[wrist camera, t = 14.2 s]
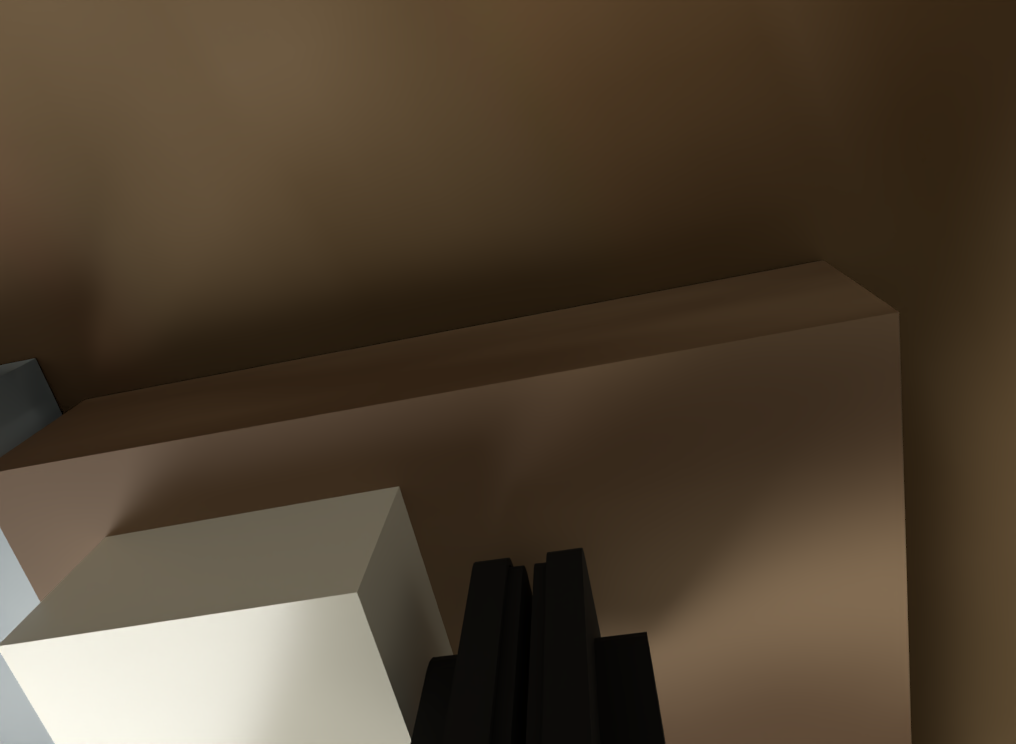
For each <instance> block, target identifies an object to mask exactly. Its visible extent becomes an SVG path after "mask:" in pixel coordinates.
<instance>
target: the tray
mask: <svg viewBox="0 0 1016 744" xmlns="http://www.w3.org/2000/svg"><path fill="white" fill-rule="evenodd" d="M60 416H62V413H61V411H60V409H59V407H58V404H57V402H56V400H55V398H54V396H53V394H52V392H51V390H50V388H49V385H48V383H47V381H46V379H45V377H44V375H43V373H42V371H41V369H40V366H39V364H38V362H37V360H36V358H33V359H28V360H23V361H18V362H13V363H8V364H3V365H0V457H2V456H3V455H4V454H6V453H7V452H9V451H10V450H12V449H13V448H15V447H16V446H18V445H19V444H21V443H22V442H24V441H25V440H26V439H28V438H29V437H31V436H32V435H34V434H35V433H37V432H38V431H40V430H41V429H43V428H44V427H46V426H47V425H48V424H50V423H51V422H53V421H54V420H56V419H57V418H59V417H60ZM39 603H40V601H39V599H38V597H37V595H36V593H35V591H34V589H33V588H32V586H31V584H30V582H29V580H28V578H27V576H26V575H25V573H24V571H23V569H22V567H21V565H20V563H19V562H18V560H17V558H16V556H15V554H14V552H13V551H12V549H11V547H10V545H9V543H8V541H7V539H6V538H5V536H4V534H3V532H2V530H1V528H0V643H1V642H2V641H3V640H4V639H5V638H6V637H7V636H8V635H9V634H10V633H11V632H12V631H13V630H14V629H15V628H16V627H17V626H18V625H19V624H20V623H21V622H22V621H23V620H24V619H25V618H26V617H27V616H28V615H29V614H30V613H31V612H32V611H33V610H34V609H35V608H36V607H37V606H38V604H39ZM0 744H55V743H54V742H53V740H52V738H51V737H50V735H49V733H48V732H47V730H46V728H45V727H44V725H43V723H42V722H41V720H40V718H39V717H38V715H37V713H36V712H35V710H34V708H33V707H32V705H31V703H30V702H29V700H28V698H27V697H26V695H25V693H24V691H23V690H22V688H21V686H20V685H19V683H18V681H17V680H16V678H15V676H14V675H13V673H12V671H11V670H10V668H9V666H8V665H7V663H6V661H5V660H4V658H3V656H2V655H1V653H0Z"/></svg>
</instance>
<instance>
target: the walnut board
mask: <svg viewBox="0 0 1016 744" xmlns="http://www.w3.org/2000/svg"><path fill="white" fill-rule="evenodd" d="M398 486H399V488H400V491H401V494H402V497H403V500H404V503H405V506H406V509H407V513H408V516H409V519H410V522H411V525H412V528H413V531H414V534H415V537H416V540H417V544H418V547H419V550H420V553H421V556H422V559H423V562H424V565H425V568H426V571H427V575H428V578H429V581H430V584H431V587H432V590H433V593H434V596H435V599H436V602H437V606H438V609H439V612H440V615H441V618H442V621H443V624H444V627H445V630H446V633H447V637H448V640H449V643H450V646H451V649H452V652H453V655H456V654H458V648H459V642H460V636H461V630H462V625H463V619H464V613H465V607H466V601H467V596H468V590H469V584H470V578H471V572H472V567H473V564H474V563H475V562H479V561H487V560H494V559H501V558H510V559H511V561H512V563H513V567H515V566H522V565H524V566H525V568H526V570H527V574H528V578H529V582H530V587H531V591H532V595H533V574H534V564H537V563H544V562H546V555H547V552H553V551H560V550H567V549H575V548H583V551H584V555H585V559H586V564H587V569H588V574H589V579H590V584H591V589H592V594H593V599H594V604H595V609H596V614H597V619H598V624H599V629H600V634H601V637H607V636H615V635H623V634H632V633H640V632H647V636H648V641H649V647H650V653H651V659H652V664H653V670H654V676H655V682H656V688H657V694H658V700H659V706H660V712H661V718H662V724H663V730H664V736H665V742H666V744H911V710H910V675H909V639H908V604H907V569H906V534H905V498H904V463H903V428H902V393H901V358H900V322H899V311H897V310H896V309H894V308H893V307H891V306H890V305H888V304H887V303H885V302H884V301H883V300H881V299H880V298H878V297H877V296H875V295H874V294H872V293H871V292H869V291H868V290H866V289H865V288H864V287H862V286H861V285H859V284H858V283H856V282H855V281H853V280H852V279H850V278H849V277H848V276H846V275H845V274H843V273H842V272H840V271H839V270H837V269H836V268H834V267H833V266H832V265H830V264H829V263H827V262H826V261H824V260H821V261H816V262H811V263H806V264H800V265H795V266H790V267H784V268H779V269H774V270H769V271H763V272H758V273H753V274H747V275H742V276H737V277H731V278H726V279H721V280H716V281H710V282H705V283H700V284H694V285H689V286H684V287H679V288H673V289H668V290H663V291H657V292H652V293H647V294H641V295H636V296H631V297H626V298H620V299H615V300H610V301H604V302H599V303H594V304H589V305H583V306H578V307H573V308H567V309H562V310H557V311H551V312H546V313H541V314H536V315H530V316H525V317H520V318H514V319H509V320H504V321H499V322H493V323H488V324H483V325H477V326H472V327H467V328H461V329H456V330H451V331H446V332H440V333H435V334H430V335H424V336H419V337H414V338H409V339H403V340H398V341H393V342H387V343H382V344H377V345H371V346H366V347H361V348H356V349H350V350H345V351H340V352H334V353H329V354H324V355H319V356H313V357H308V358H303V359H297V360H292V361H287V362H281V363H276V364H271V365H266V366H260V367H255V368H250V369H244V370H239V371H234V372H229V373H223V374H218V375H213V376H207V377H202V378H197V379H191V380H186V381H181V382H176V383H170V384H165V385H160V386H154V387H149V388H144V389H139V390H133V391H128V392H123V393H117V394H112V395H107V396H101V397H96V398H91V399H86V400H84V401H82V402H81V403H79V404H78V405H76V406H75V407H73V408H72V409H70V410H69V411H68V412H66V413H65V414H63V415H62V416H60V417H59V418H57V419H56V420H54V421H53V422H51V423H50V424H48V425H47V426H46V427H44V428H43V429H41V430H40V431H38V432H37V433H35V434H34V435H32V436H31V437H29V438H28V439H26V440H25V441H24V442H22V443H21V444H19V445H18V446H16V447H15V448H13V449H12V450H10V451H9V452H7V453H6V454H4V455H3V456H2V457H0V528H1V530H2V532H3V534H4V536H5V538H6V539H7V541H8V543H9V545H10V547H11V549H12V551H13V552H14V554H15V556H16V558H17V560H18V562H19V563H20V565H21V567H22V569H23V571H24V573H25V575H26V576H27V578H28V580H29V582H30V584H31V586H32V588H33V589H34V591H35V593H36V595H37V597H38V599H39V601H40V602H41V601H42V600H43V599H44V598H45V597H46V596H47V595H48V594H49V593H50V592H51V591H52V590H53V589H54V588H55V587H56V586H57V585H58V584H59V583H60V582H61V581H62V580H63V579H64V578H65V577H66V576H67V575H68V574H69V573H70V572H71V571H72V570H73V569H74V568H75V567H76V566H77V565H78V564H79V563H80V562H81V561H82V560H83V559H84V558H85V557H86V556H87V555H88V554H89V553H90V552H91V551H92V550H93V549H94V548H95V547H96V546H97V545H98V544H99V543H100V542H101V541H102V540H103V539H104V538H105V537H109V536H115V535H121V534H126V533H132V532H138V531H144V530H149V529H155V528H161V527H167V526H172V525H178V524H184V523H190V522H196V521H201V520H207V519H213V518H219V517H224V516H230V515H236V514H242V513H247V512H253V511H259V510H265V509H270V508H276V507H282V506H288V505H293V504H299V503H305V502H311V501H317V500H322V499H328V498H334V497H340V496H345V495H351V494H357V493H363V492H369V491H374V490H380V489H386V488H392V487H398Z"/></svg>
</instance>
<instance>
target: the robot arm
mask: <svg viewBox="0 0 1016 744" xmlns="http://www.w3.org/2000/svg"><path fill="white" fill-rule="evenodd" d="M410 744H666V742H665V736H664V730H663V724H662V718H661V712H660V706H659V700H658V694H657V688H656V682H655V676H654V670H653V664H652V659H651V653H650V647H649V641H648V636H647V632H640V633H632V634H623V635H615V636H607V637H601V634H600V629H599V624H598V619H597V614H596V609H595V604H594V599H593V594H592V589H591V584H590V579H589V574H588V569H587V564H586V559H585V555H584V551H583V548H575V549H567V550H560V551H553V552H547V555H546V562H544V563H537V564H534V574H533V595H532V591H531V587H530V582H529V578H528V574H527V570H526V568H525V566H524V565H522V566H515V567H513V563H512V561H511V559H510V558H501V559H494V560H487V561H479V562H475V563H474V564H473V567H472V572H471V578H470V584H469V590H468V596H467V601H466V607H465V613H464V619H463V625H462V630H461V636H460V642H459V648H458V654H456V655H448V656H439V657H433V658H432V659H431V660H430V661H429V664H428V667H427V670H426V675H425V680H424V684H423V689H422V693H421V698H420V702H419V707H418V712H417V716H416V721H415V725H414V730H413V734H412V739H411V743H410Z"/></svg>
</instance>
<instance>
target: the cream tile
mask: <svg viewBox="0 0 1016 744" xmlns="http://www.w3.org/2000/svg"><path fill="white" fill-rule="evenodd" d="M0 653H1V655H2V656H3V658H4V660H5V661H6V663H7V665H8V666H9V668H10V670H11V671H12V673H13V675H14V676H15V678H16V680H17V681H18V683H19V685H20V686H21V688H22V690H23V691H24V693H25V695H26V697H27V698H28V700H29V702H30V703H31V705H32V707H33V708H34V710H35V712H36V713H37V715H38V717H39V718H40V720H41V722H42V723H43V725H44V727H45V728H46V730H47V732H48V733H49V735H50V737H51V738H52V740H53V742H54V743H55V744H410V743H411V739H412V734H413V730H414V725H415V721H416V716H417V712H418V707H419V702H420V698H421V693H422V689H423V684H424V680H425V675H426V670H427V667H428V664H429V661H430V660H431V659H432V658H433V657H439V656H448V655H453V652H452V649H451V646H450V643H449V640H448V637H447V633H446V630H445V627H444V624H443V621H442V618H441V615H440V612H439V609H438V606H437V602H436V599H435V596H434V593H433V590H432V587H431V584H430V581H429V578H428V575H427V571H426V568H425V565H424V562H423V559H422V556H421V553H420V550H419V547H418V544H417V540H416V537H415V534H414V531H413V528H412V525H411V522H410V519H409V516H408V513H407V509H406V506H405V503H404V500H403V497H402V494H401V491H400V488H399V486H398V487H392V488H386V489H380V490H374V491H369V492H363V493H357V494H351V495H345V496H340V497H334V498H328V499H322V500H317V501H311V502H305V503H299V504H293V505H288V506H282V507H276V508H270V509H265V510H259V511H253V512H247V513H242V514H236V515H230V516H224V517H219V518H213V519H207V520H201V521H196V522H190V523H184V524H178V525H172V526H167V527H161V528H155V529H149V530H144V531H138V532H132V533H126V534H121V535H115V536H109V537H105V538H104V539H103V540H102V541H101V542H100V543H99V544H98V545H97V546H96V547H95V548H94V549H93V550H92V551H91V552H90V553H89V554H88V555H87V556H86V557H85V558H84V559H83V560H82V561H81V562H80V563H79V564H78V565H77V566H76V567H75V568H74V569H73V570H72V571H71V572H70V573H69V574H68V575H67V576H66V577H65V578H64V579H63V580H62V581H61V582H60V583H59V584H58V585H57V586H56V587H55V588H54V589H53V590H52V591H51V592H50V593H49V594H48V595H47V596H46V597H45V598H44V599H43V600H42V601H41V602H40V603H39V604H38V606H37V607H36V608H35V609H34V610H33V611H32V612H31V613H30V614H29V615H28V616H27V617H26V618H25V619H24V620H23V621H22V622H21V623H20V624H19V625H18V626H17V627H16V628H15V629H14V630H13V631H12V632H11V633H10V634H9V635H8V636H7V637H6V638H5V639H4V640H3V641H2V642H1V643H0Z"/></svg>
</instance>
